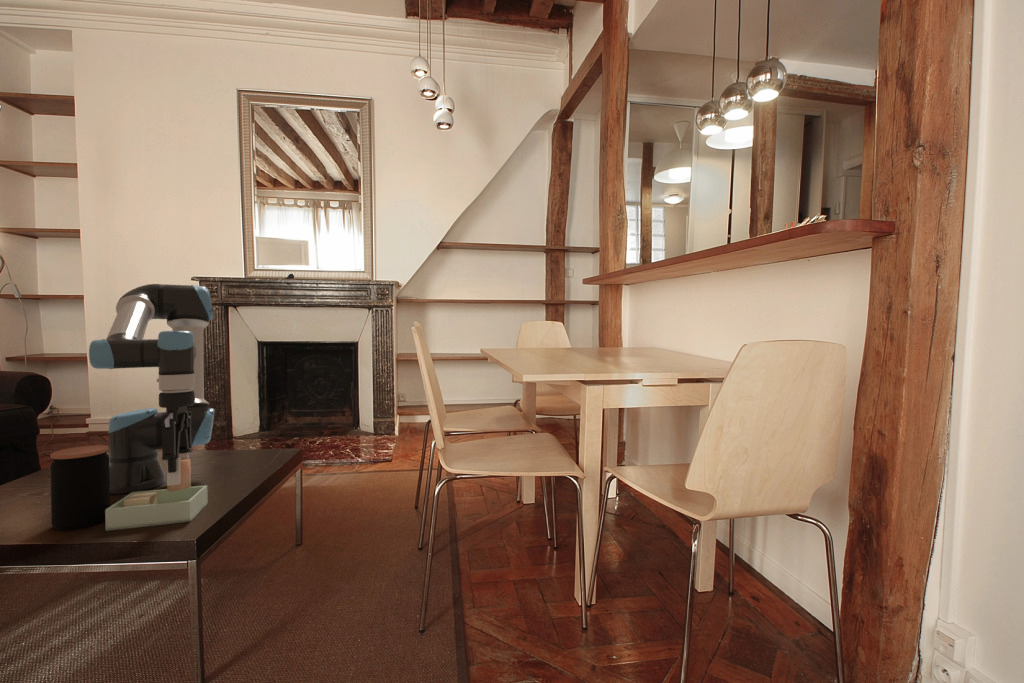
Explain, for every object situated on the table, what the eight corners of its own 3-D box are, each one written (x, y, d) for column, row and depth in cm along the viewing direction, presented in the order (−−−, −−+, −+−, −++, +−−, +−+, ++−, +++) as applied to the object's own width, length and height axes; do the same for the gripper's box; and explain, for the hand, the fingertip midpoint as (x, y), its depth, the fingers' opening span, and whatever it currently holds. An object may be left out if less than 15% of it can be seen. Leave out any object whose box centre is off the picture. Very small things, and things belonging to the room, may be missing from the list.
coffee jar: (105, 511, 122) (104, 443, 122) (114, 521, 116) (113, 449, 115) (48, 524, 114) (47, 451, 114) (54, 535, 107) (53, 457, 107)
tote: (132, 511, 122) (132, 492, 122) (207, 503, 127) (207, 485, 127) (105, 530, 110) (105, 509, 110) (190, 521, 115) (190, 501, 115)
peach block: (171, 486, 121) (170, 459, 121) (193, 484, 123) (193, 457, 123) (163, 492, 116) (163, 464, 116) (186, 489, 118) (186, 462, 118)
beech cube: (134, 513, 119) (133, 494, 119) (157, 511, 120) (156, 492, 120) (124, 521, 114) (123, 500, 114) (148, 518, 115) (148, 498, 115)
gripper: (173, 388, 127) (174, 473, 127) (143, 395, 110) (145, 493, 110) (205, 387, 129) (206, 470, 129) (180, 393, 112) (182, 490, 112)
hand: (178, 481), depth 119 cm, fingers closed on peach block, 5 cm apart
